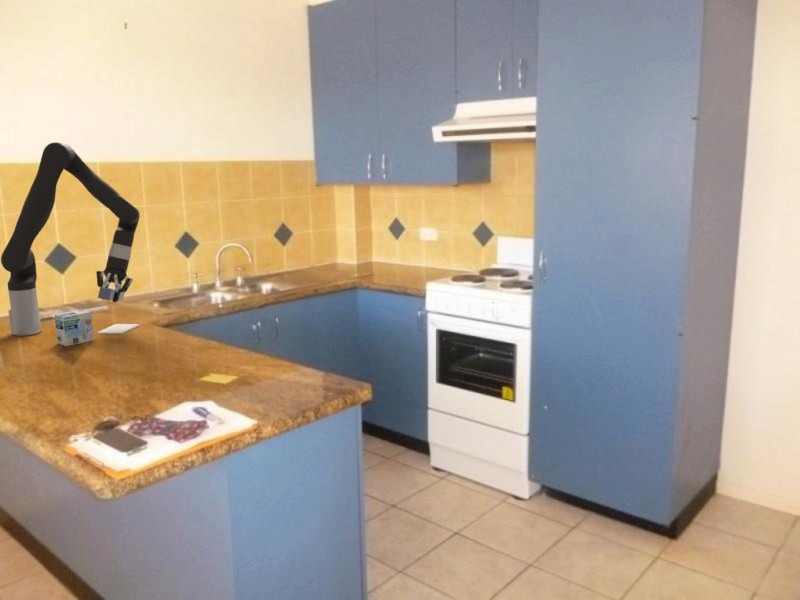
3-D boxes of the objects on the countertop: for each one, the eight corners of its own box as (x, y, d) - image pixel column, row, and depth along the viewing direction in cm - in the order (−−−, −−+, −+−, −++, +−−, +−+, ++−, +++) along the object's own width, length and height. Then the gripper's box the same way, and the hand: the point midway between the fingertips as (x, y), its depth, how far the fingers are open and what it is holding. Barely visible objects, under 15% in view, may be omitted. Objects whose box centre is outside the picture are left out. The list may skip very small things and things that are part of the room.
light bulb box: (66, 346, 236) (62, 316, 234) (56, 344, 240) (53, 314, 238) (95, 340, 245) (92, 311, 243) (85, 337, 249) (82, 309, 247)
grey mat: (96, 333, 254) (96, 332, 254) (116, 325, 268) (115, 323, 268) (122, 334, 253) (121, 332, 253) (140, 325, 267) (139, 324, 267)
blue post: (113, 298, 262) (97, 297, 250) (115, 288, 262) (100, 287, 250) (122, 300, 262) (107, 300, 250) (125, 290, 262) (110, 289, 250)
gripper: (96, 251, 251) (86, 296, 251) (132, 260, 250) (122, 305, 250) (106, 253, 259) (96, 296, 259) (141, 261, 258) (131, 305, 258)
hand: (109, 300), depth 255 cm, fingers closed on blue post, 4 cm apart
